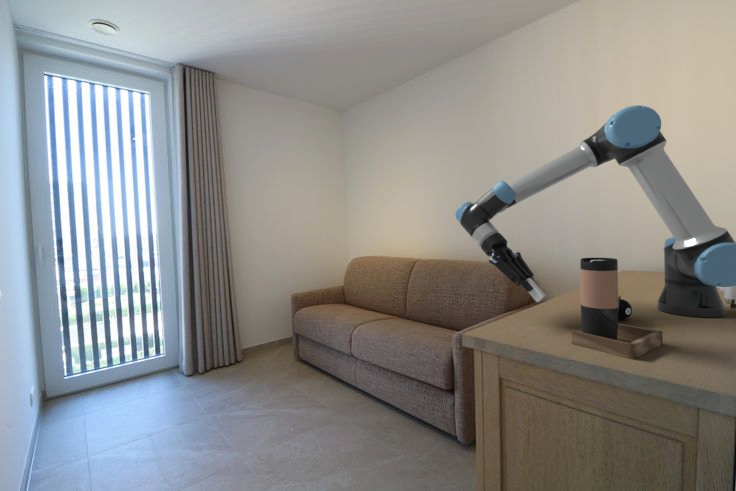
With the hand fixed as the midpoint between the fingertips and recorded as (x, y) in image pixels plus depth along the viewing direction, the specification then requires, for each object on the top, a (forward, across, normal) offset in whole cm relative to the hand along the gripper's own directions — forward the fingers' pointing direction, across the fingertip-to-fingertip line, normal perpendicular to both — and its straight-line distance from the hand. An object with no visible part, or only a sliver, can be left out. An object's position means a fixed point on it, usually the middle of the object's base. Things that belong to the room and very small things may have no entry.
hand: (541, 298), depth 96 cm
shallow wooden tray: (+19, 0, +7) cm, 20 cm away
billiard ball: (+13, -23, 0) cm, 27 cm away
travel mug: (+16, 0, +4) cm, 17 cm away
